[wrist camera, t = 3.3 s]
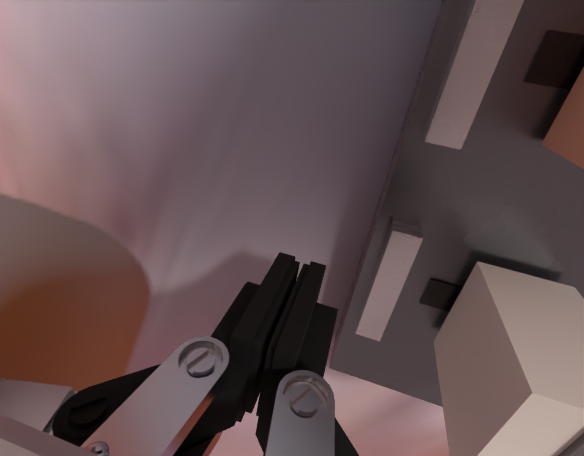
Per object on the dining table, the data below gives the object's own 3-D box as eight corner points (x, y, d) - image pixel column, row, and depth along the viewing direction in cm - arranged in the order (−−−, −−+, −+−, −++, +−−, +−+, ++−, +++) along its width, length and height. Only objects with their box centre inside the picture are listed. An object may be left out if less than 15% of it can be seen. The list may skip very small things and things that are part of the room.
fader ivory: (477, 261, 11) (535, 399, 6) (574, 287, 10) (710, 456, 6) (433, 341, 13) (454, 489, 8) (513, 366, 12) (579, 536, 8)
